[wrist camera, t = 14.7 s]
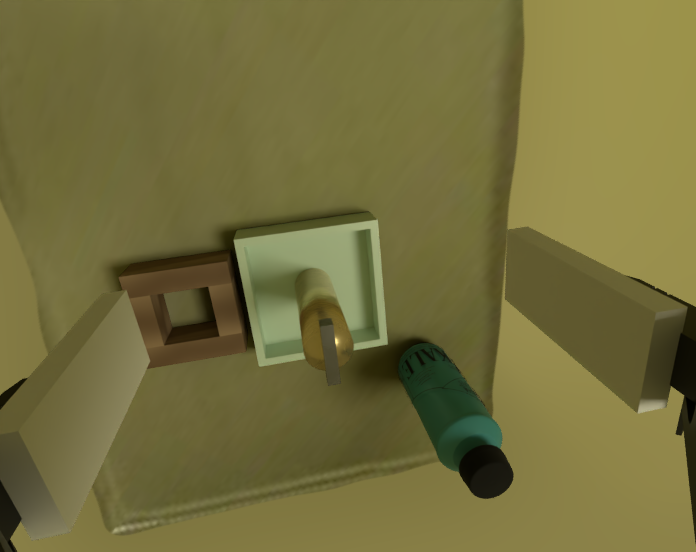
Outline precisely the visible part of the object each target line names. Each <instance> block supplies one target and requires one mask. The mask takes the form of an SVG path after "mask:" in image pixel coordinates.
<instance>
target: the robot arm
mask: <svg viewBox="0 0 696 552" xmlns="http://www.w3.org/2000/svg"><path fill="white" fill-rule="evenodd" d="M505 300H507V301H508V302H509V303H510V304H511V305H513V306H514V307H515V308H516V309H517V310H518V311H519V312H521V313H522V314H523V315H524V316H525V317H526V318H528V319H529V320H530V321H531V322H532V323H533V324H535V325H536V326H537V327H538V328H539V329H540V330H542V331H543V332H544V333H545V334H546V335H547V336H549V337H550V338H551V339H552V340H553V341H554V342H556V343H557V344H558V345H559V346H560V347H561V348H562V349H563V350H565V351H566V352H567V353H568V354H569V355H570V356H572V357H573V358H574V359H575V360H576V361H577V362H579V363H580V364H581V365H582V366H583V367H584V368H586V369H587V370H588V371H589V372H590V373H591V374H592V375H594V376H595V377H596V378H597V379H598V380H599V381H601V382H602V383H603V384H604V385H605V386H606V387H608V388H609V389H610V390H611V391H612V392H614V393H615V394H616V395H617V396H618V397H619V398H620V399H622V400H623V401H624V402H625V403H626V404H627V405H628V406H630V407H631V408H632V409H633V410H634V411H635V412H637V413H642V412H647V411H651V410H656V409H661V408H665V407H666V406H667V402H668V397H669V392H670V388H671V386H672V387H673V388H675V389H676V390H678V391H679V392H680V393H682V394H683V395H684V400H683V404H682V409H681V413H680V417H679V422H678V426H677V430H676V434H677V435H682V433H683V430H684V438H685V447H686V457H687V467H688V476H689V486H690V494H691V504H692V514H693V523H694V533H695V542H696V307H695V306H693V305H691V304H689V303H687V302H684V301H683V300H681V299H678V298H676V297H674V296H672V295H667V293H666V292H664V291H662V290H660V289H658V288H656V289H655V287H654V286H652V285H650V284H648V283H646V282H644V281H642V280H640V279H636V278H633V277H629V276H626V275H623V274H621V273H619V272H617V271H615V270H613V269H611V268H609V267H607V266H605V265H603V264H601V263H599V262H597V261H595V260H593V259H591V258H589V257H587V256H585V255H583V254H581V253H579V252H577V251H575V250H573V249H571V248H569V247H567V246H565V245H563V244H561V243H559V242H557V241H555V240H553V239H551V238H549V237H547V236H545V235H543V234H541V233H539V232H537V231H535V230H533V229H531V228H529V227H522V228H516V229H509V230H507V256H506V286H505ZM149 363H150V359H149V356H148V353H147V350H146V347H145V344H144V341H143V338H142V335H141V332H140V329H139V326H138V323H137V320H136V317H135V314H134V311H133V308H132V305H131V302H130V299H129V296H128V293H127V290H122V291H116V292H110V293H103V294H101V295H100V296H99V298H98V299H97V300H96V301H95V302H94V303H93V304H92V306H91V307H90V308H89V309H88V310H87V311H86V312H85V314H84V315H83V316H82V317H81V318H80V319H79V320H78V322H77V323H76V324H75V325H74V326H73V327H72V328H71V330H70V331H69V332H68V333H67V334H66V335H65V336H64V338H63V339H62V340H61V341H60V342H59V343H58V344H57V346H56V347H55V348H54V349H53V350H52V351H51V352H50V354H49V355H48V356H47V357H46V358H45V359H44V360H43V361H42V363H41V364H40V365H39V366H38V367H37V368H36V369H35V371H34V372H33V373H32V374H31V375H30V376H29V377H28V378H26V379H22V380H20V381H19V382H18V383H16V384H15V385H14V386H12V387H11V388H9V389H8V390H6V391H5V392H4V393H2V394H1V395H0V552H17V550H16V548H15V547H14V545H13V543H12V542H11V540H10V538H11V536H12V535H13V533H14V531H15V530H16V528H17V526H18V525H19V523H20V521H21V522H22V524H23V526H24V528H25V529H26V531H27V533H28V535H29V536H30V538H31V540H32V541H33V540H38V539H42V538H47V537H52V536H57V535H62V534H66V533H70V532H71V530H72V528H73V526H74V524H75V521H76V519H77V517H78V515H79V513H80V511H81V509H82V506H83V504H84V502H85V500H86V498H87V496H88V493H89V491H90V489H91V487H92V485H93V483H94V481H95V479H96V476H97V474H98V472H99V470H100V468H101V466H102V464H103V461H104V459H105V457H106V455H107V453H108V451H109V449H110V446H111V444H112V442H113V440H114V438H115V436H116V433H117V431H118V429H119V427H120V425H121V423H122V421H123V418H124V416H125V414H126V412H127V410H128V408H129V406H130V403H131V401H132V399H133V397H134V395H135V393H136V391H137V388H138V386H139V384H140V382H141V380H142V378H143V376H144V373H145V371H146V369H147V367H148V365H149Z"/></svg>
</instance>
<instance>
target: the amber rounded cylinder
mask: <svg viewBox="0 0 696 552" xmlns="http://www.w3.org/2000/svg"><path fill="white" fill-rule="evenodd" d="M295 293H296V300H297V308H298V315H299V322H300V330H301V337H302V345H303V352H304V356H305V358H306V360H307V362H308V363H309V364H310V365H311V366H313V367H315V368H317V369H320V370H325V371H326V378H327V382H328V386H330V385H336V384H341V381H340V373H339V367H341V366H343V365H344V364H345V363H347V361H348V360H349V359H350V358H351V356H352V353H353V350H354V343H353V339H352V337H351V334H350V331H349V328H348V326H347V323H346V320H345V317H344V315H343V312H342V309H341V306H340V304H339V301H338V298H337V295H336V293H335V290H334V287H333V284H332V282H331V279H330V277H329V275H328V274H327V273H326V272H325V271H323V270H321V269H318V268H310V269H306V270H304V271H303V272H301V273H300V274H299V275H298V277H297V278H296V281H295Z"/></svg>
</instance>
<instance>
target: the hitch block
mask: <svg viewBox="0 0 696 552" xmlns="http://www.w3.org/2000/svg"><path fill="white" fill-rule="evenodd" d="M119 280H120V284H121V287H122V290H127V293H128V296H129V299H130V302H131V305H132V308H133V311H134V314H135V317H136V320H137V323H138V326H139V329H140V332H141V335H142V338H143V341H144V344H145V347H146V350H147V353H148V356H149V359H150V363H149V365H148V367H147V369H149V368H155V367H160V366H166V365H172V364H178V363H184V362H190V361H196V360H202V359H208V358H214V357H219V356H225V355H231V354H237V353H243V352H246V349H247V340H248V331H247V326H246V322H245V317H244V312H243V307H242V302H241V297H240V292H239V288H238V283H237V278H236V273H235V268H234V263H233V258H232V254H231V250H225V251H218V252H211V253H204V254H197V255H190V256H183V257H176V258H169V259H162V260H155V261H148V262H141V263H134V264H131V265H130V266H129V267H128V268H127V269H126V270H125V271H124V272H123V273H122V274H121V275H120V276H119ZM202 287H208V288H209V292H210V297H211V301H212V305H213V309H214V314H215V318H216V321H212V322H206V323H200V324H194V325H187V326H181V327H175V328H172V325H171V321H170V317H169V314H168V310H167V306H166V303H165V299H164V295H163V293H169V292H176V291H183V290H189V289H196V288H202Z"/></svg>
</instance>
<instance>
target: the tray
mask: <svg viewBox="0 0 696 552" xmlns="http://www.w3.org/2000/svg"><path fill="white" fill-rule="evenodd" d="M234 245H235V249H236V254H237V259H238V264H239V269H240V274H241V279H242V284H243V289H244V294H245V299H246V304H247V309H248V314H249V319H250V324H251V329H252V334H253V339H254V344H255V349H256V354H257V358H258V363H259V367H261V366H266V365H272V364H278V363H284V362H289V361H295V360H301V359H306V358H305V356H304V352H303V345H302V337H301V330H300V322H299V315H298V308H297V300H296V293H295V281H296V278H297V277H298V275H299V274H300V273H301V272H303V271H304V270H306V269H310V268H318V269H321V270H323V271H325V272H326V273H327V274H328V275H329V277H330V279H331V282H332V284H333V287H334V290H335V293H336V295H337V298H338V301H339V304H340V306H341V309H342V312H343V315H344V317H345V320H346V323H347V326H348V328H349V331H350V334H351V337H352V339H353V343H354V350H358V349H364V348H370V347H376V346H381V345H387V344H388V342H387V330H386V317H385V305H384V292H383V280H382V267H381V255H380V242H379V230H378V220H377V219H376V218H375V217H374V216H373V215H372V214H371V213H370V212H363V213H356V214H349V215H341V216H334V217H327V218H319V219H312V220H305V221H298V222H290V223H283V224H276V225H269V226H261V227H254V228H247V229H239V230H237V231H236V234H235V237H234Z"/></svg>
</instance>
